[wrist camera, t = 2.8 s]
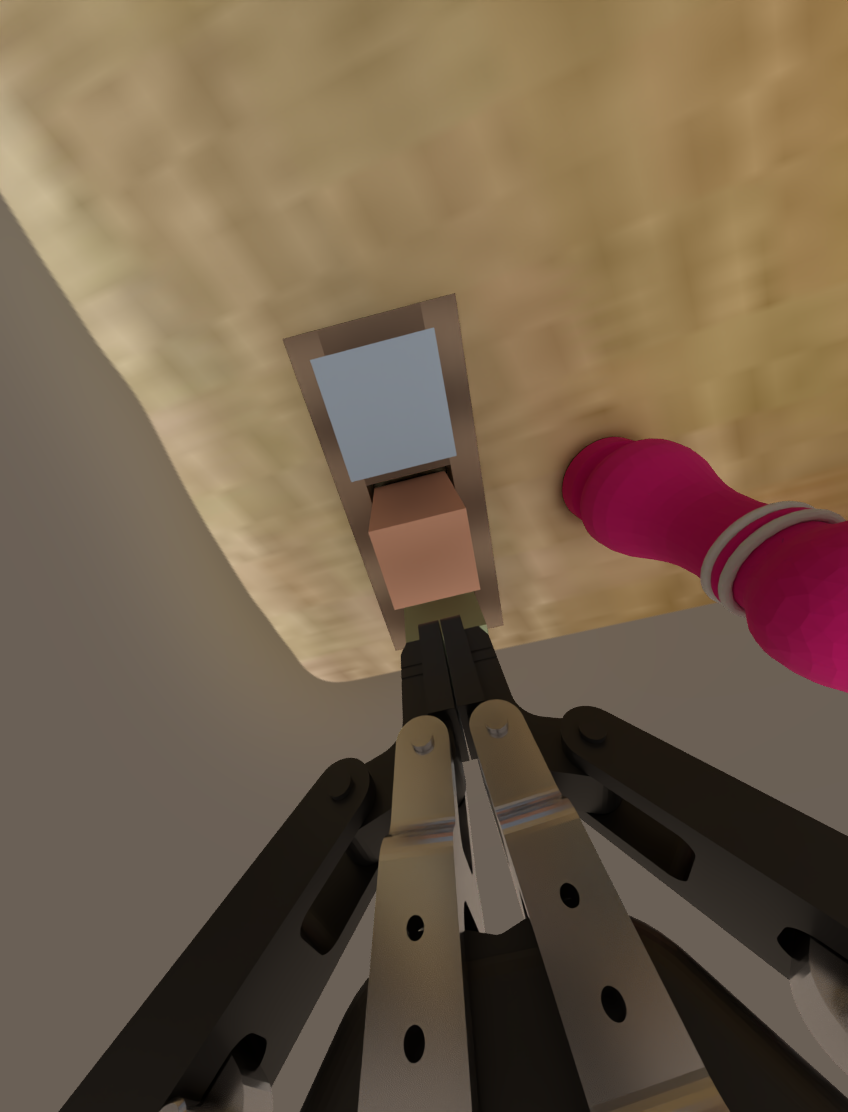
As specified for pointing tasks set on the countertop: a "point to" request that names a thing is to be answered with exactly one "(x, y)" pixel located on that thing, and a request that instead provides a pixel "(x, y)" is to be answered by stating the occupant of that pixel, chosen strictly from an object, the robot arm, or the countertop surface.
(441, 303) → the walnut board
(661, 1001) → the robot arm
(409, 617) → the olive block
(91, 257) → the countertop surface
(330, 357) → the slate block
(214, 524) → the countertop surface
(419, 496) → the terracotta block
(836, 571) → the pepper mill
